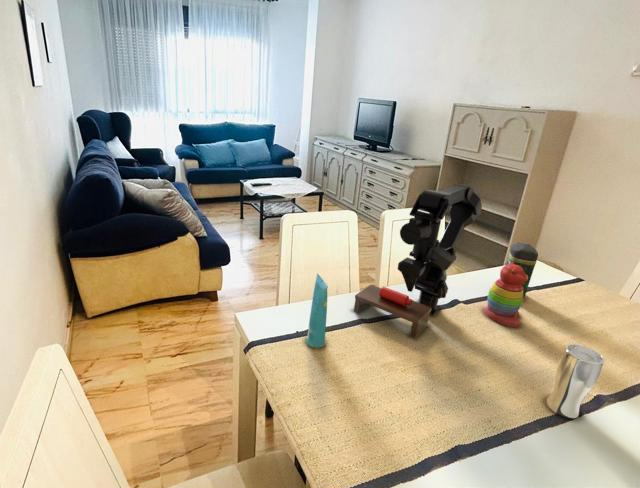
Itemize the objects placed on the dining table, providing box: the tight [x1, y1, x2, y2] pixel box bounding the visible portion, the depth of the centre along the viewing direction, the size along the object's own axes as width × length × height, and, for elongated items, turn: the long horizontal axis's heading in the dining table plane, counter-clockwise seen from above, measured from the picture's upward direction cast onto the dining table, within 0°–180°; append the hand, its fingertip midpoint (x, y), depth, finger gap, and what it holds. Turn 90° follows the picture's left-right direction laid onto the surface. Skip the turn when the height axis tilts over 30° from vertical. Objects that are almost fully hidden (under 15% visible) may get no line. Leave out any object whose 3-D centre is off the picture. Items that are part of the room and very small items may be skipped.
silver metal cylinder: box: [546, 343, 605, 419], centre depth 84 cm, size 7×7×15 cm
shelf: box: [353, 283, 432, 339], centre depth 116 cm, size 10×20×6 cm, turn 49°
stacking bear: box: [483, 262, 528, 328], centre depth 119 cm, size 11×10×18 cm
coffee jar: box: [505, 242, 539, 300], centre depth 133 cm, size 10×8×19 cm
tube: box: [306, 272, 329, 349], centre depth 101 cm, size 7×5×19 cm, turn 20°
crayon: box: [379, 286, 414, 306], centre depth 115 cm, size 9×3×3 cm, turn 49°
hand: (416, 285), depth 112 cm, fingers open, 9 cm apart
